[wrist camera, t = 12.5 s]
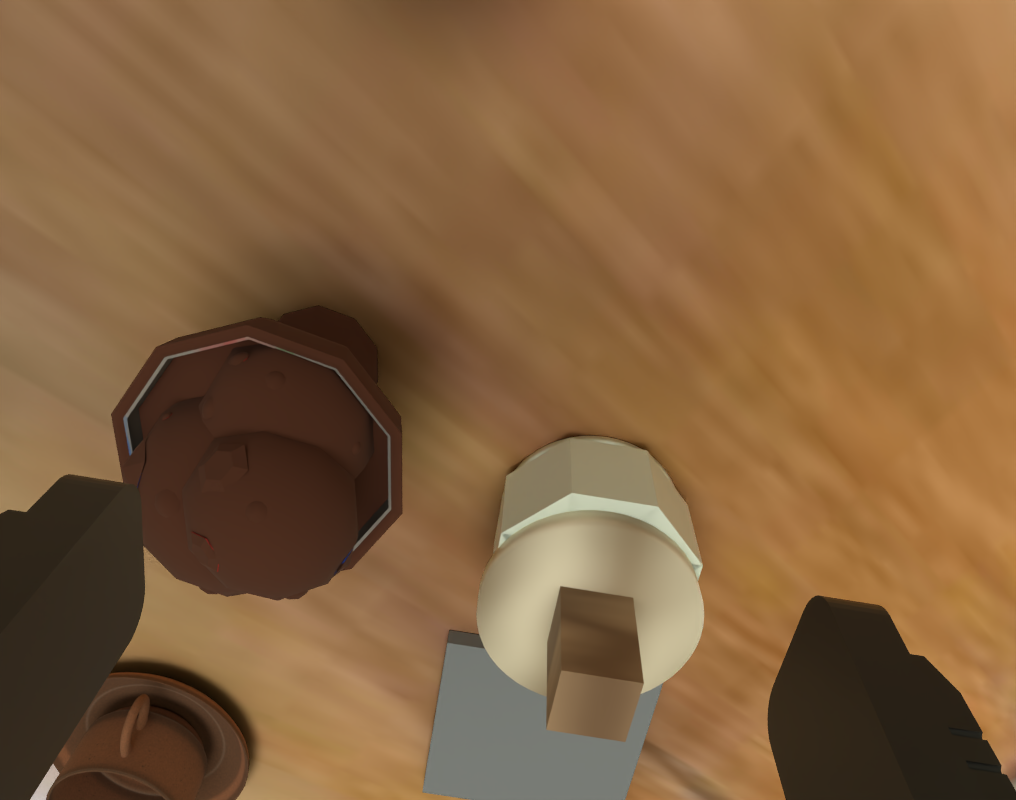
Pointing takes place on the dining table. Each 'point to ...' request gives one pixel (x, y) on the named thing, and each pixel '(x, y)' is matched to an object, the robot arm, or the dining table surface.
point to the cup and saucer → (151, 745)
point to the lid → (590, 616)
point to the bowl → (596, 489)
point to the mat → (518, 739)
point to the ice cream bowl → (262, 453)
